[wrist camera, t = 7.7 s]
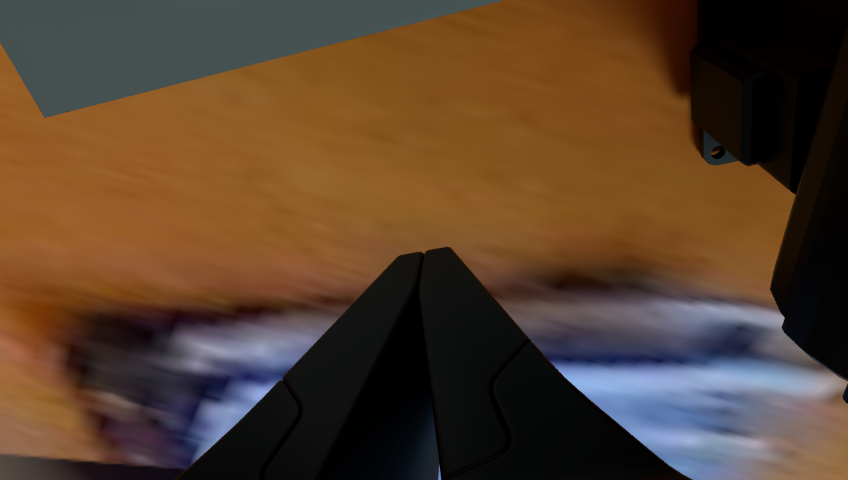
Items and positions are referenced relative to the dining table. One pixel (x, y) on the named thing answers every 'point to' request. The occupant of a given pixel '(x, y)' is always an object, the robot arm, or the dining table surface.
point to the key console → (177, 39)
